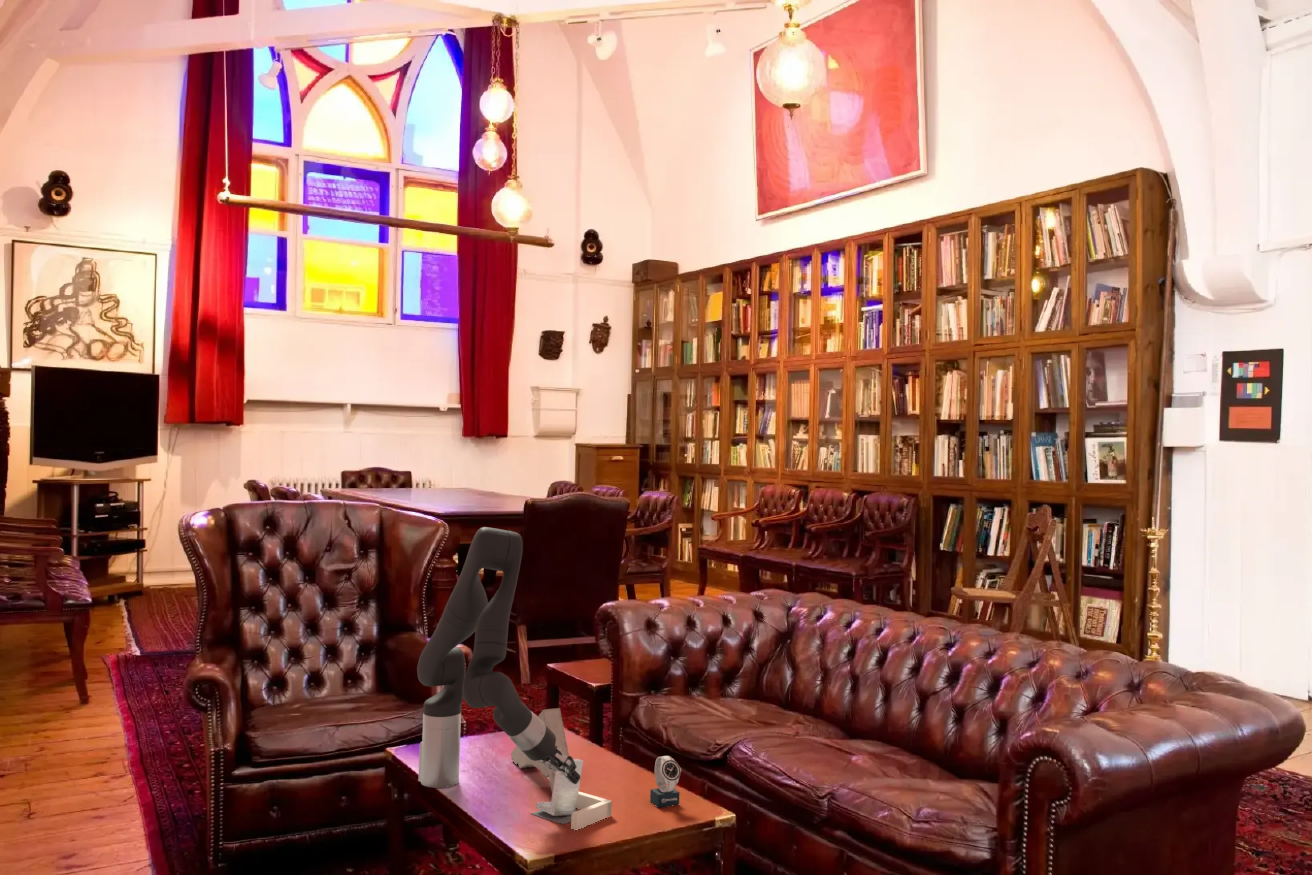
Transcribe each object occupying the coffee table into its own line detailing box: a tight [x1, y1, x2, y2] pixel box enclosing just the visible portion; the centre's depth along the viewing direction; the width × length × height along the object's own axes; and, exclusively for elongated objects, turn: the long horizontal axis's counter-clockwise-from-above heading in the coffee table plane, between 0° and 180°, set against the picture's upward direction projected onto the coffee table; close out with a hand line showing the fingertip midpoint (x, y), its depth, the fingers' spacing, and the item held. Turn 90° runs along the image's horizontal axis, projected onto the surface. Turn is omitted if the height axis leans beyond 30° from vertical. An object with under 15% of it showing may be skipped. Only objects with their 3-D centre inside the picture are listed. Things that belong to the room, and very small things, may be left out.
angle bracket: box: [535, 758, 584, 816], centre depth 230 cm, size 7×6×12 cm
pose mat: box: [531, 809, 577, 825], centre depth 229 cm, size 10×8×1 cm
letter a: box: [510, 707, 570, 794], centre depth 253 cm, size 22×4×30 cm
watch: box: [649, 755, 682, 809], centre depth 238 cm, size 6×8×11 cm
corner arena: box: [570, 791, 613, 831], centre depth 227 cm, size 10×12×4 cm
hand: (573, 778), depth 229 cm, fingers closed on angle bracket
